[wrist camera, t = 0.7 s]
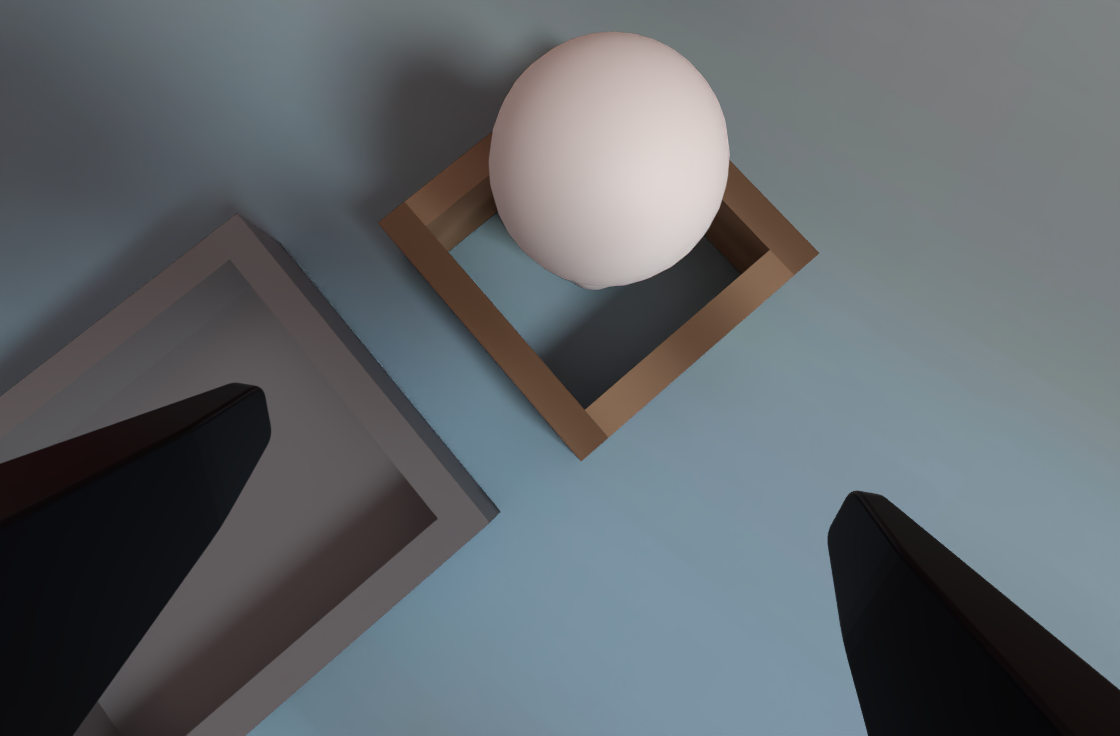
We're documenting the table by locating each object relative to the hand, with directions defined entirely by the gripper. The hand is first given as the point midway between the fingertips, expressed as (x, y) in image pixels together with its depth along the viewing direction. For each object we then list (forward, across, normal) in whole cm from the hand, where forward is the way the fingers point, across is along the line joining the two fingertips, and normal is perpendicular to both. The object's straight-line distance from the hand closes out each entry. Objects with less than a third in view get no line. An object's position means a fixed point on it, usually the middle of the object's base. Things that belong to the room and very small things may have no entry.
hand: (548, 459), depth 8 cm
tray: (+7, +12, +12) cm, 18 cm away
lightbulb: (+15, 0, +2) cm, 15 cm away
